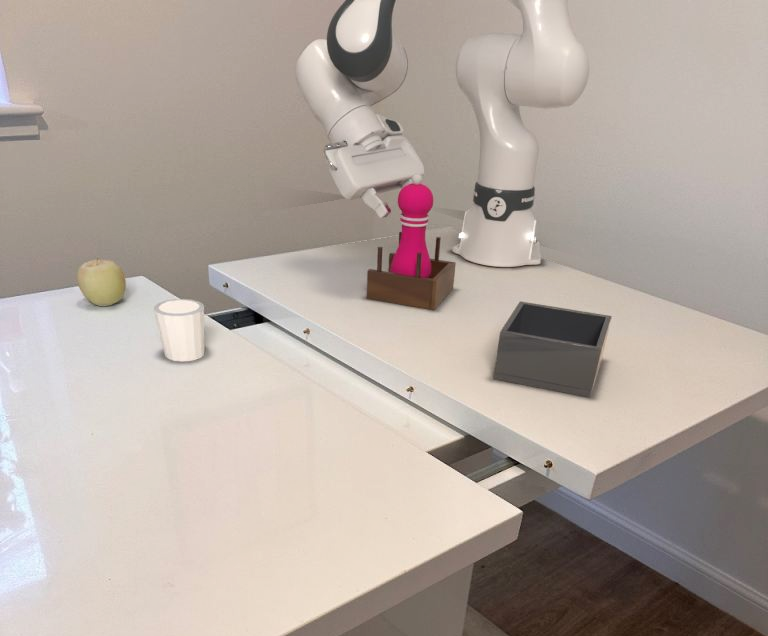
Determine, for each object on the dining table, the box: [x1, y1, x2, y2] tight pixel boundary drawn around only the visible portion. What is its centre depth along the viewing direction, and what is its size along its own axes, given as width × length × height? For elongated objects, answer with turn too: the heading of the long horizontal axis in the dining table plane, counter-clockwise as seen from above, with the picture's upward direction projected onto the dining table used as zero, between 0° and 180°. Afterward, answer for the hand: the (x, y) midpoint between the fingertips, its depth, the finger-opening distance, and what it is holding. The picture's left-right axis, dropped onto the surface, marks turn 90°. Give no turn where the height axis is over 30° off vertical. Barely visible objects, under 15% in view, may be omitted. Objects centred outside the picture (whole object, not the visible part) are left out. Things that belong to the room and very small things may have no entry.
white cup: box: [153, 298, 206, 362], centre depth 102 cm, size 7×7×7 cm
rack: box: [366, 231, 457, 311], centre depth 127 cm, size 12×12×9 cm
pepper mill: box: [391, 174, 434, 278], centre depth 124 cm, size 7×7×20 cm
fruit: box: [76, 254, 127, 307], centre depth 117 cm, size 8×7×8 cm
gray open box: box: [493, 301, 612, 398], centre depth 103 cm, size 14×14×7 cm
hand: (402, 210), depth 123 cm, fingers open, 8 cm apart
